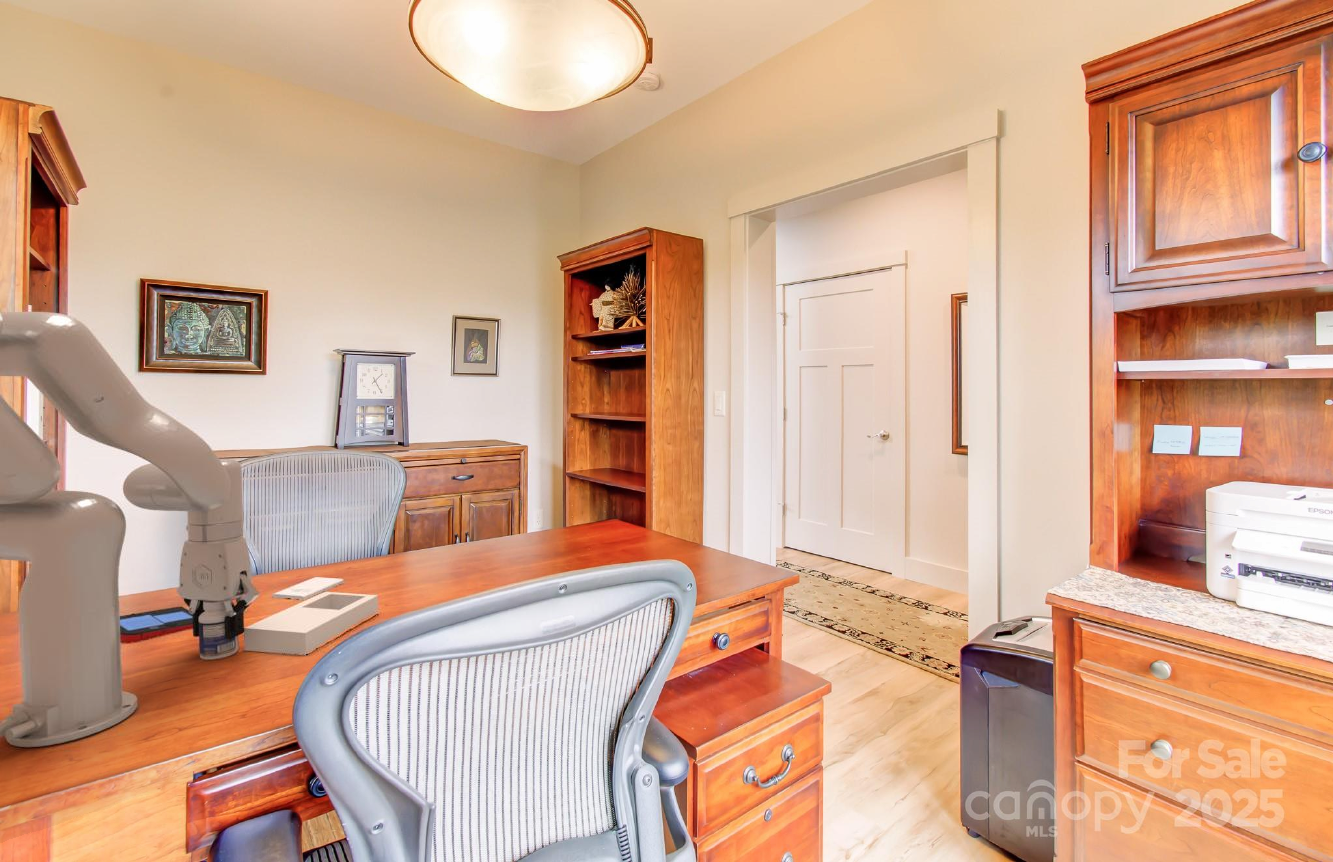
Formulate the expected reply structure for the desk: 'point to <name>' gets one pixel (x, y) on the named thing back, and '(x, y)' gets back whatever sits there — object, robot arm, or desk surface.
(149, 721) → the desk surface
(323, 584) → the external hard drive
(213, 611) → the pill bottle
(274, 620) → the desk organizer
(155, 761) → the desk surface
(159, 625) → the game console
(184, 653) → the desk surface
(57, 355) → the robot arm
